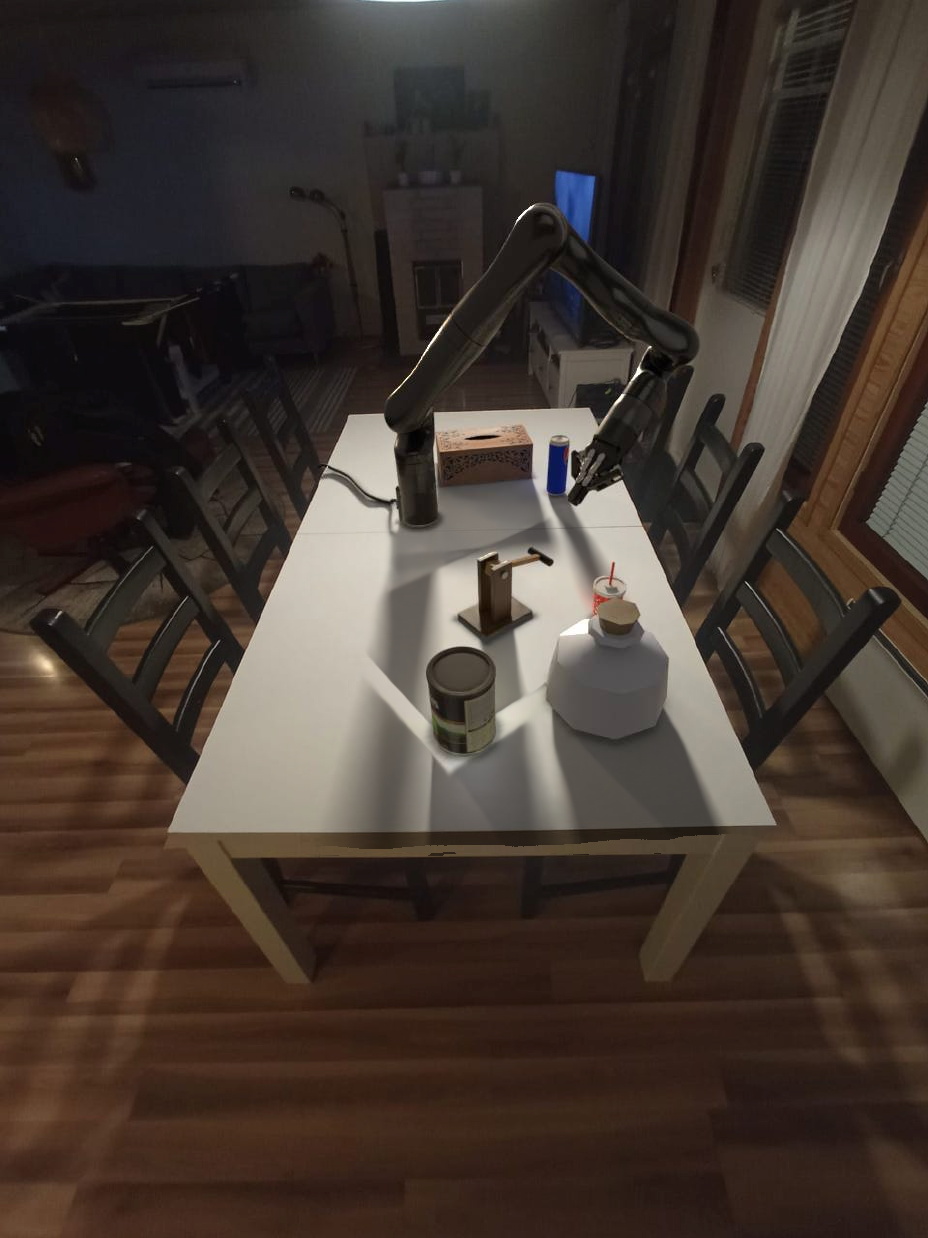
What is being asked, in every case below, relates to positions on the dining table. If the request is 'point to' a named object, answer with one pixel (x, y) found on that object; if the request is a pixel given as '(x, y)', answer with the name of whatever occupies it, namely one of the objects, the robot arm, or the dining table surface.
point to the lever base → (494, 599)
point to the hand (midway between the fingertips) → (571, 503)
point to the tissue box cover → (484, 454)
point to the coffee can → (462, 700)
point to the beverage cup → (607, 589)
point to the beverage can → (557, 464)
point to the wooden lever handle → (521, 560)
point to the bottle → (609, 673)
